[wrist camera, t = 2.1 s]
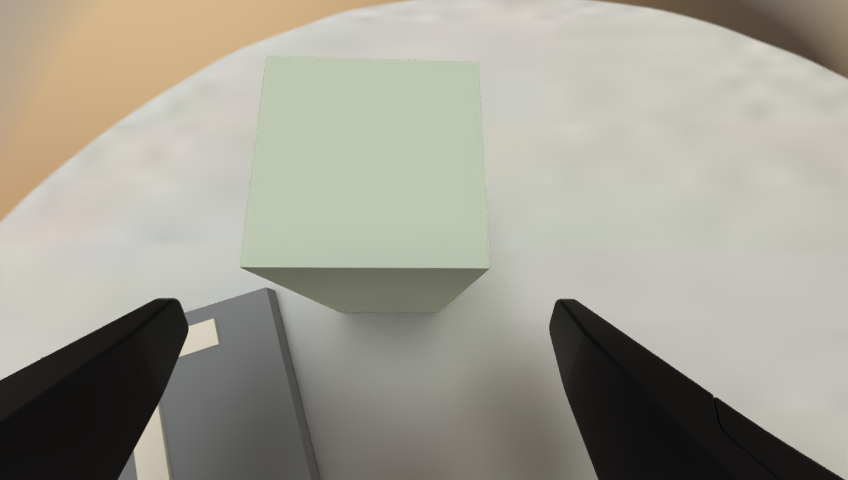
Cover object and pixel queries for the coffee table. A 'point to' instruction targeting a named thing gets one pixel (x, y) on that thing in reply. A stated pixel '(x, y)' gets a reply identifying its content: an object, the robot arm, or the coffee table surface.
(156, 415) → the board
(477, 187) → the sage block
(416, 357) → the coffee table surface
